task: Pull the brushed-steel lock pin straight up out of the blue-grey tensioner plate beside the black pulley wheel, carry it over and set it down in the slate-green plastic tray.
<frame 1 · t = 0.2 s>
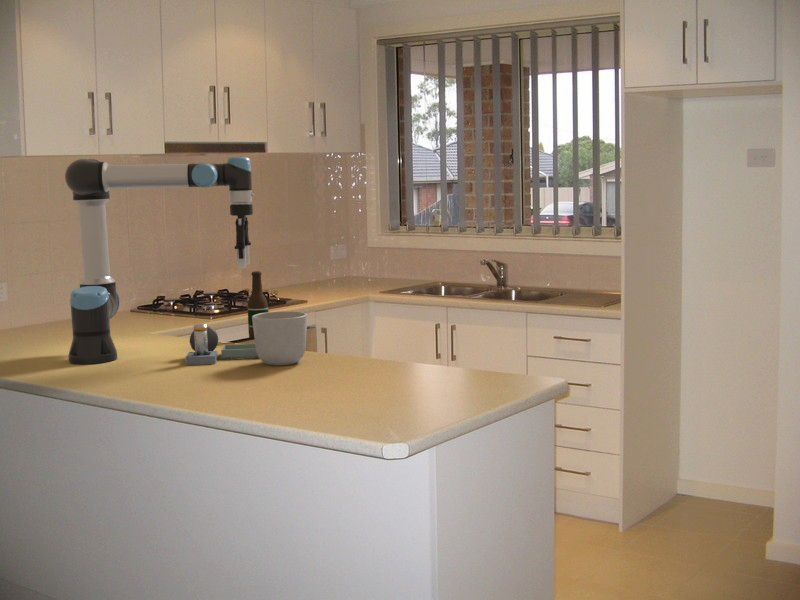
hand: (243, 266, 342), 28 cm above the countertop, fingers open, 13 cm apart
lock pin: (202, 361, 321), resting in tensioner
tray: (244, 355, 330), on the countertop
beer bottle: (259, 338, 365), on the countertop
planter: (281, 363, 315), on the countertop
tensioner: (202, 361, 321), on the countertop
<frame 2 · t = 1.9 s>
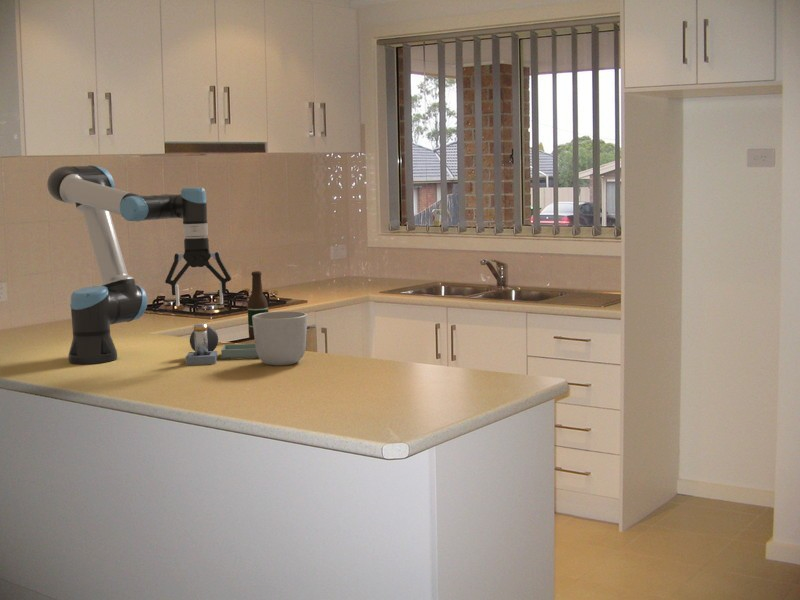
hand: (199, 304, 318), 18 cm above the countertop, fingers open, 13 cm apart
nothing on the countertop moved.
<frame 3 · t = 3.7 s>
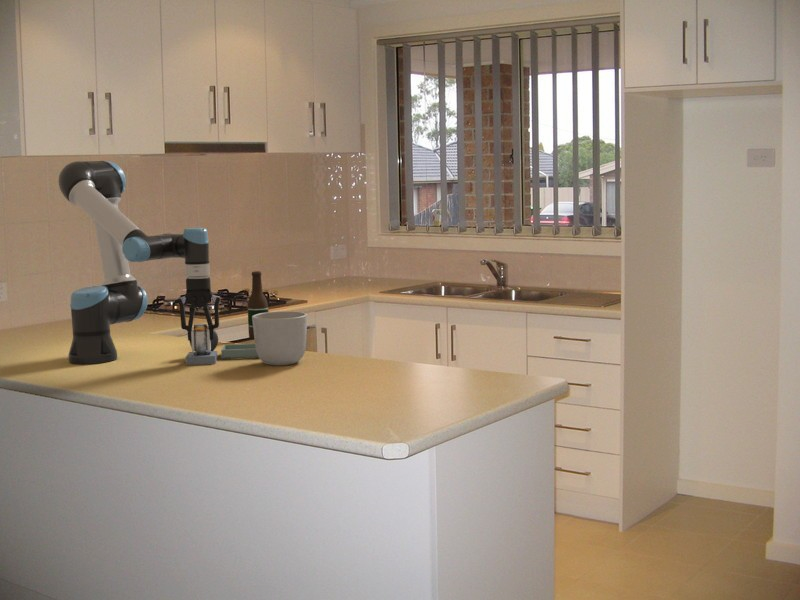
hand: (201, 350, 320), 4 cm above the countertop, fingers closed on lock pin, 4 cm apart
lock pin: (202, 361, 321), resting in tensioner, touching gripper
everything else where it was.
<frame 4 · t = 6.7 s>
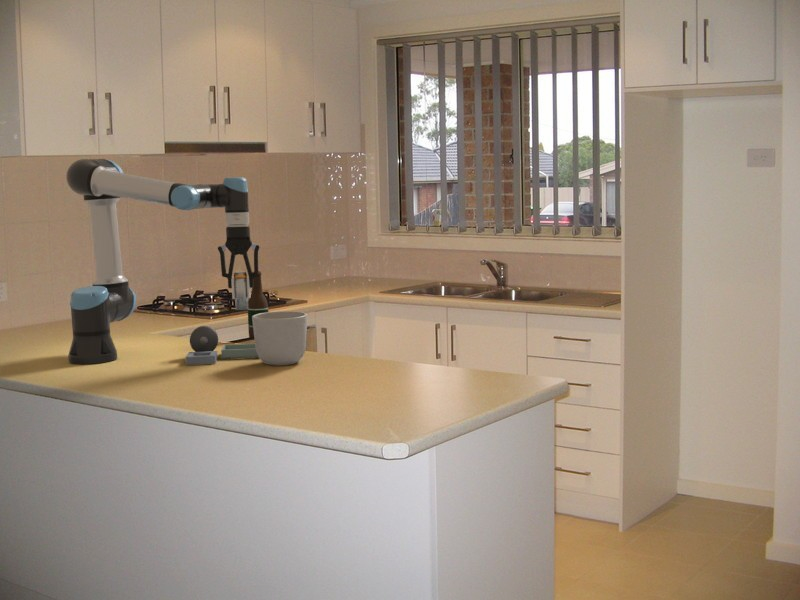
hand: (241, 297, 327), 19 cm above the countertop, fingers closed on lock pin, 4 cm apart
lock pin: (242, 309, 327), point 15 cm above the countertop, touching gripper
everything else where it was.
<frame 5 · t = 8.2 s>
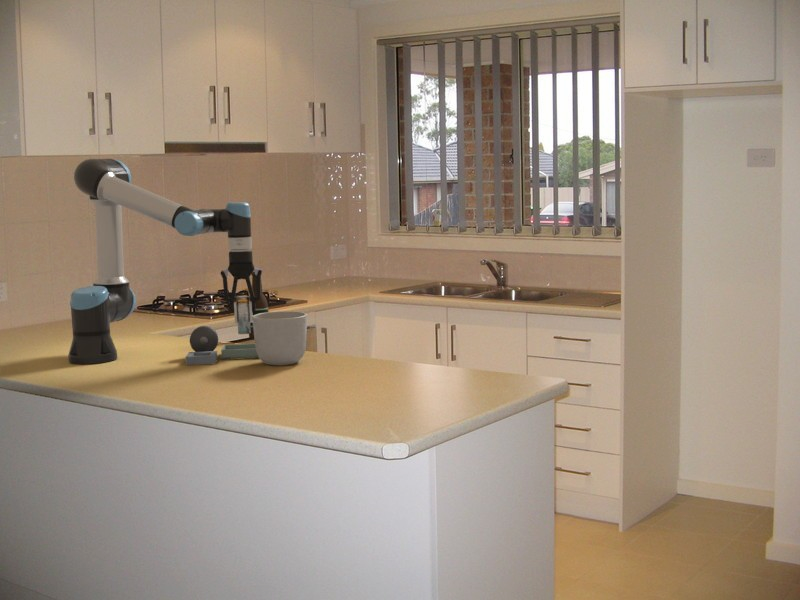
hand: (243, 322, 328), 11 cm above the countertop, fingers closed on lock pin, 4 cm apart
lock pin: (244, 333, 329), point 7 cm above the countertop, touching gripper
everything else where it was.
when the fingers open (5 cm above the countertop, at t = 9.5 s): lock pin stays where it is, resting on tray.
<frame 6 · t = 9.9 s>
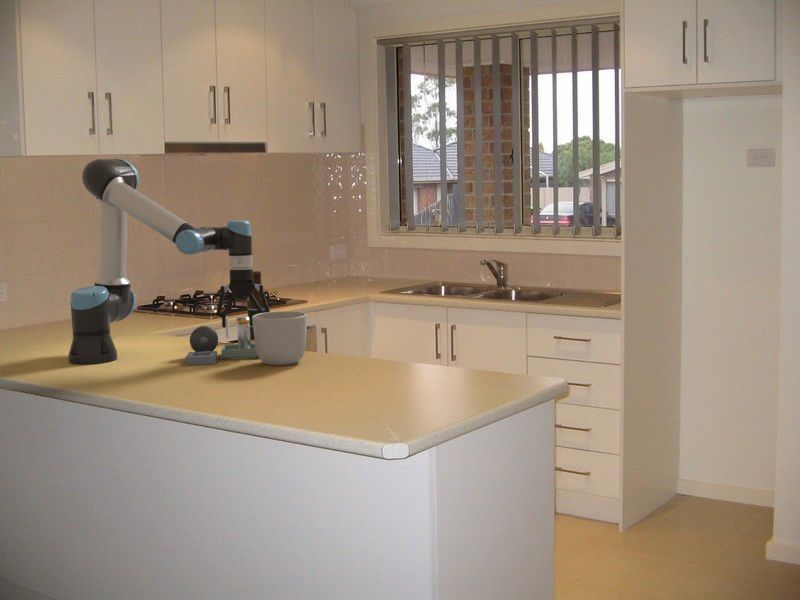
hand: (244, 336, 329), 6 cm above the countertop, fingers open, 10 cm apart
lock pin: (244, 353, 330), point 1 cm above the countertop, touching tray
everything else where it was.
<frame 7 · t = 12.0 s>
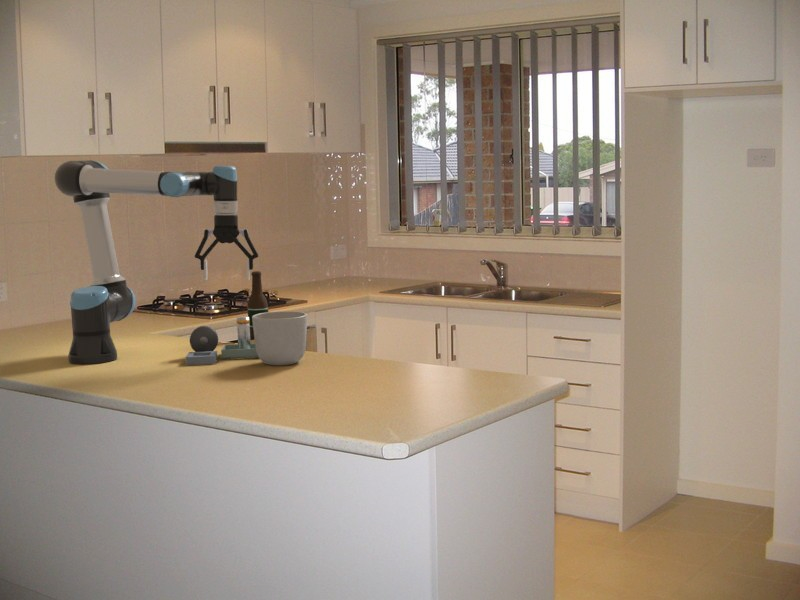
hand: (227, 280, 328), 25 cm above the countertop, fingers open, 13 cm apart
nothing on the countertop moved.
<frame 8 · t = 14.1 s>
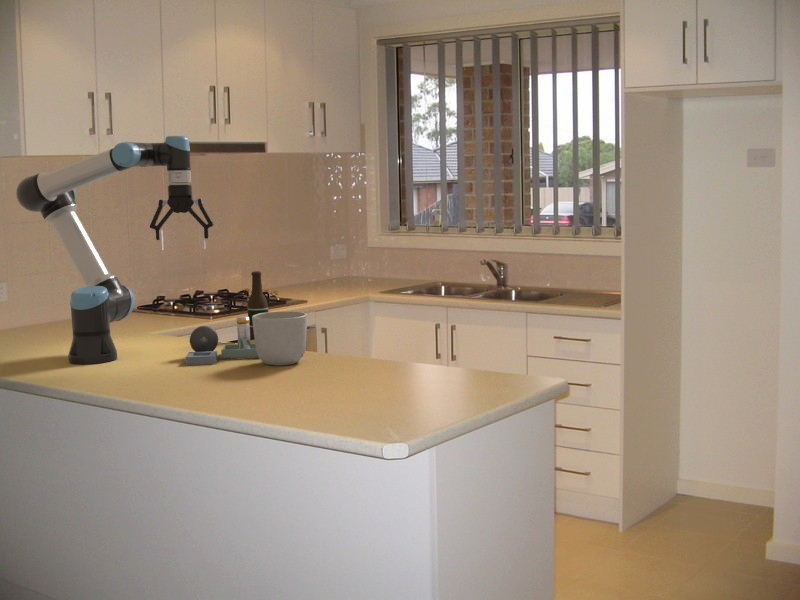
hand: (183, 249, 330), 35 cm above the countertop, fingers open, 13 cm apart
nothing on the countertop moved.
at the end: lock pin inside the target area on the tray (0.0 cm from its centre), point 0.6 cm above the tray's base; lock pin touching tray; the gripper is holding nothing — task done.
